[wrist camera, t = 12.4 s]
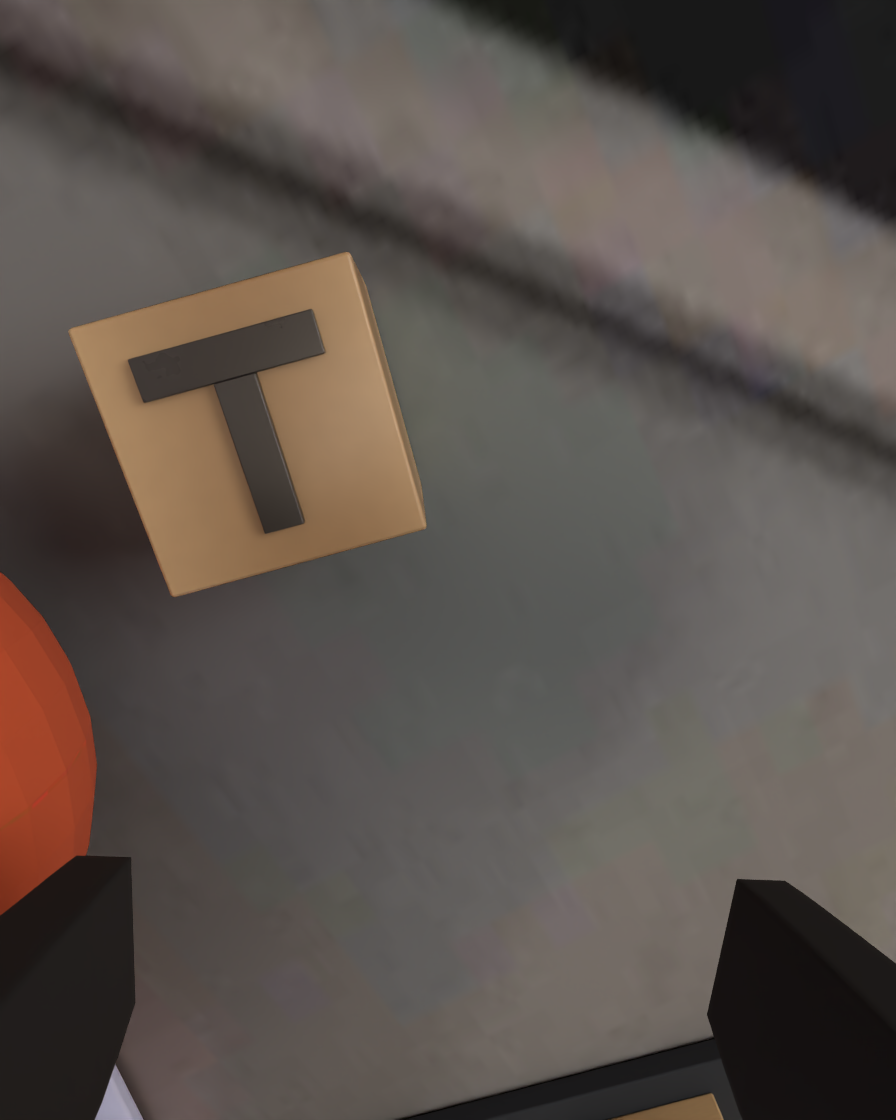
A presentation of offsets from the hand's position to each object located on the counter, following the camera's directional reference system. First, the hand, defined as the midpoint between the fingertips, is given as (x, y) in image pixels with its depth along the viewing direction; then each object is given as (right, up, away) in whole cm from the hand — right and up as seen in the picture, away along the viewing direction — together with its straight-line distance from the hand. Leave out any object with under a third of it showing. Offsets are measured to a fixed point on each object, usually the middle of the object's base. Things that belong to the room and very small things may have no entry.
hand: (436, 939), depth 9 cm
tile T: (-3, +7, +6) cm, 10 cm away
